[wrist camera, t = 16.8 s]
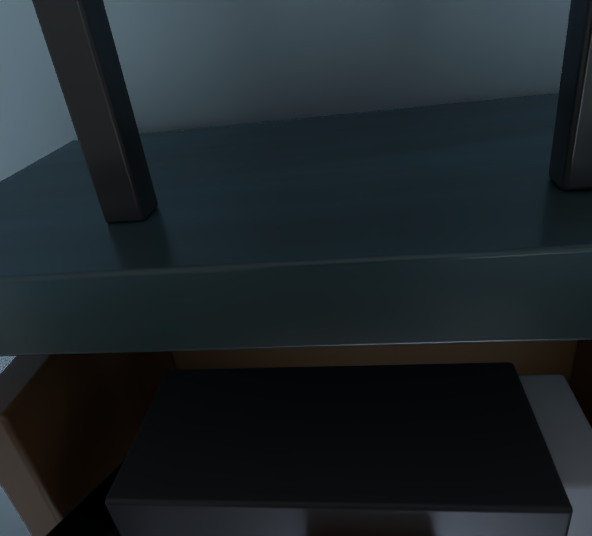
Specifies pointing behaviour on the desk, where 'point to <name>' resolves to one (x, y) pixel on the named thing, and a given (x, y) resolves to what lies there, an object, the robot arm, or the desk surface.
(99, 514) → the robot arm
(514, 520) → the black block orange patch
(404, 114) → the drawer
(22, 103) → the desk surface
